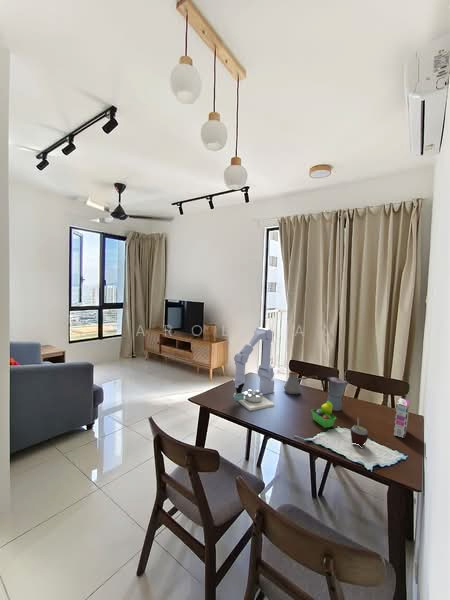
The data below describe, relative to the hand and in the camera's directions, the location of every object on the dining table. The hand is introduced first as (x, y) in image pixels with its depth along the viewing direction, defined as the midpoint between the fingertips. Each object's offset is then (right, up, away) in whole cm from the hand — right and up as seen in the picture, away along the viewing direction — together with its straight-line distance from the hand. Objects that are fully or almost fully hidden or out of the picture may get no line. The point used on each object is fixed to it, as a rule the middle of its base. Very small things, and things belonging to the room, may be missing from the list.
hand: (238, 395), depth 159 cm
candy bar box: (+81, -10, -25) cm, 85 cm away
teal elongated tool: (+6, -3, 0) cm, 6 cm away
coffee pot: (+42, -6, +18) cm, 46 cm away
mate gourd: (+53, -9, -38) cm, 66 cm away
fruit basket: (+44, -8, -19) cm, 49 cm away
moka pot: (+57, -8, 0) cm, 57 cm away
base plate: (+9, -5, +2) cm, 10 cm away
